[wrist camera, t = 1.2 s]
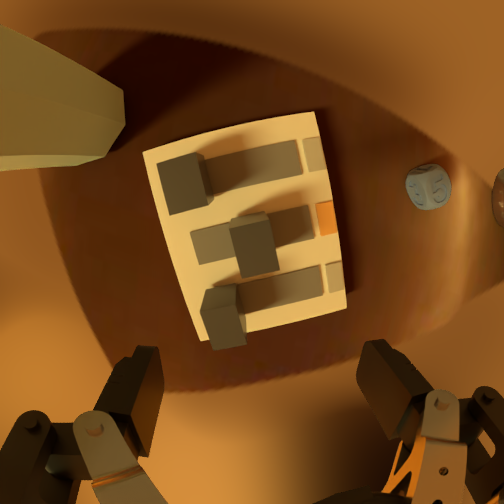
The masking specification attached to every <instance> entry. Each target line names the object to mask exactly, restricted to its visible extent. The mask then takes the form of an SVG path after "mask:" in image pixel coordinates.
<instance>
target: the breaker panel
mask: <svg viewBox="0 0 504 504" xmlns="http://www.w3.org/2000/svg"><path fill="white" fill-rule="evenodd" d="M193 152H197V153H199V154H202V155H204V159H205V163H206V167H207V171H208V175H209V179H210V183H211V187H212V191H213V195H214V200H213V201H212V202H211V203H210V204H209V205H208V206H204V207H201V208H197V209H193V210H189V211H185V212H182V213H178V214H174V215H171V216H169V212H168V208H167V204H166V201H165V197H164V193H163V189H162V185H161V181H160V177H159V173H158V169H157V165H156V163H159V162H163V161H166V160H169V159H172V158H176V157H179V156H182V155H186V154H189V153H193ZM143 156H144V160H145V164H146V168H147V173H148V177H149V181H150V185H151V189H152V192H153V196H154V200H155V204H156V207H157V211H158V215H159V218H160V222H161V225H162V229H163V232H164V236H165V239H166V242H167V246H168V249H169V252H170V255H171V259H172V262H173V265H174V268H175V271H176V274H177V277H178V280H179V283H180V286H181V289H182V292H183V295H184V298H185V301H186V303H187V306H188V309H189V312H190V315H191V317H192V320H193V323H194V325H195V328H196V331H197V333H198V336H199V339H200V341H204V340H209V337H208V334H207V332H206V329H205V326H204V323H203V320H202V318H201V315H200V308H201V305H202V301H203V297H204V294H205V290H206V289H210V288H215V287H219V286H224V285H228V284H233V283H236V284H237V287H238V291H239V295H240V298H241V302H242V306H243V309H244V313H245V316H246V328H247V332H251V331H256V330H261V329H265V328H270V327H274V326H279V325H283V324H287V323H292V322H296V321H300V320H304V319H308V318H312V317H316V316H319V315H323V314H327V313H331V312H334V311H338V310H342V309H345V308H347V305H346V294H345V284H344V275H343V266H342V258H341V250H340V243H339V236H338V229H337V222H336V216H335V210H334V204H333V198H332V192H331V187H330V182H329V176H328V171H327V166H326V162H325V157H324V152H323V148H322V143H321V139H320V134H319V130H318V126H317V122H316V118H315V114H314V112H307V113H300V114H293V115H287V116H281V117H275V118H270V119H265V120H260V121H255V122H250V123H245V124H241V125H236V126H232V127H227V128H223V129H219V130H215V131H211V132H207V133H204V134H200V135H196V136H193V137H189V138H186V139H182V140H179V141H176V142H172V143H169V144H166V145H163V146H160V147H157V148H154V149H151V150H148V151H145V152H143ZM261 211H265V213H266V214H267V216H268V218H269V220H270V225H271V229H272V234H273V238H274V243H275V248H276V252H277V257H278V262H279V267H280V270H279V271H275V272H270V273H266V274H262V275H257V276H253V277H249V278H244V279H242V278H241V274H240V270H239V267H238V263H237V259H236V255H235V251H234V247H233V243H232V239H231V235H230V231H229V226H230V221H231V218H235V217H239V216H243V215H248V214H252V213H256V212H261Z"/></svg>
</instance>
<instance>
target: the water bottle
mask: <svg viewBox="0 0 504 504" xmlns="http://www.w3.org/2000/svg"><path fill="white" fill-rule="evenodd" d="M125 125H126V124H125V112H124V95H123V90H121V89H120V88H118V87H117V86H115V85H113V84H112V83H110V82H109V81H107V80H105V79H104V78H102V77H100V76H99V75H97V74H95V73H94V72H92V71H90V70H88V69H87V68H85V67H83V66H81V65H80V64H78V63H76V62H74V61H73V60H71V59H69V58H67V57H65V56H63V55H62V54H60V53H58V52H56V51H54V50H52V49H50V48H48V47H47V46H45V45H43V44H41V43H39V42H37V41H35V40H33V39H31V38H29V37H27V36H25V35H22V34H20V33H18V32H16V31H14V30H12V29H10V28H8V27H5V26H3V25H1V24H0V171H7V170H17V169H27V168H41V167H58V166H77V165H80V164H83V163H86V162H89V161H92V160H95V159H99V158H102V157H105V156H106V154H107V152H108V151H109V149H110V148H111V146H112V144H113V143H114V141H115V140H116V138H117V137H118V135H119V134H120V132H121V131H122V129H123V128H124V126H125Z"/></svg>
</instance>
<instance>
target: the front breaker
mask: <svg viewBox="0 0 504 504" xmlns="http://www.w3.org/2000/svg"><path fill="white" fill-rule="evenodd" d="M156 165H157V169H158V173H159V177H160V181H161V185H162V189H163V193H164V197H165V201H166V204H167V208H168V212H169V216H171V215H174V214H178V213H182V212H185V211H189V210H193V209H197V208H201V207H204V206H208V205H209V204H210V203H211V202H212V201H213V200H214V195H213V191H212V187H211V183H210V179H209V175H208V171H207V167H206V163H205V159H204V155H202V154H199V153H197V152H193V153H189V154H186V155H182V156H179V157H176V158H172V159H169V160H166V161H163V162H159V163H156Z"/></svg>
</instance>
